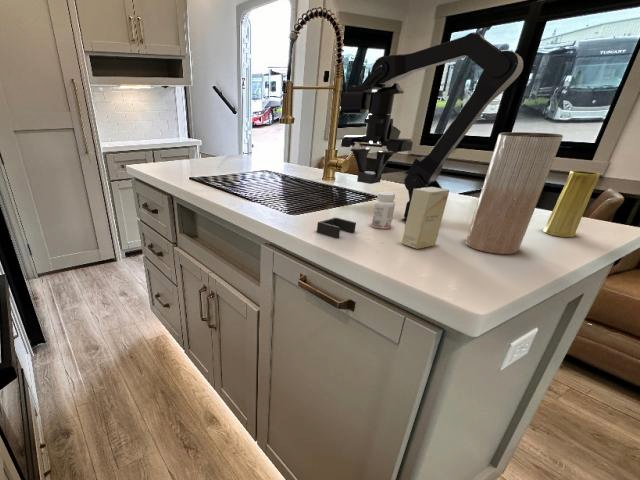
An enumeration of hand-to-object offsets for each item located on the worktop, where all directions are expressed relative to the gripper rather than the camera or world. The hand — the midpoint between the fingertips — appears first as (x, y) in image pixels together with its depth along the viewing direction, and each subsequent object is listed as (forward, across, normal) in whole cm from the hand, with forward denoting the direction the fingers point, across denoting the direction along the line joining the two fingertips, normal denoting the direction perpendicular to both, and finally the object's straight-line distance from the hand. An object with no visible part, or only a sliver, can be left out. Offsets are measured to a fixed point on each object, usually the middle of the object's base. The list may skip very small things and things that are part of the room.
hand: (369, 176), depth 101 cm
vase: (+10, -42, -19) cm, 47 cm away
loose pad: (+2, 0, 0) cm, 2 cm away
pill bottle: (+10, -12, +10) cm, 18 cm away
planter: (+10, -36, +4) cm, 37 cm away
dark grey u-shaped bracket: (+10, -8, +23) cm, 26 cm away
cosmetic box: (+10, -25, +15) cm, 31 cm away
